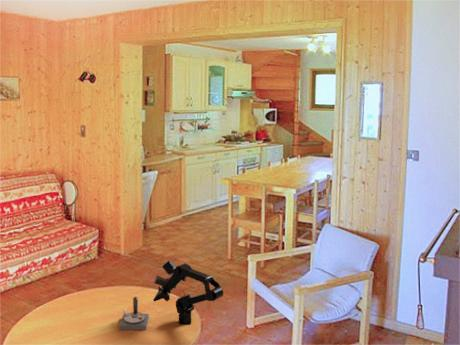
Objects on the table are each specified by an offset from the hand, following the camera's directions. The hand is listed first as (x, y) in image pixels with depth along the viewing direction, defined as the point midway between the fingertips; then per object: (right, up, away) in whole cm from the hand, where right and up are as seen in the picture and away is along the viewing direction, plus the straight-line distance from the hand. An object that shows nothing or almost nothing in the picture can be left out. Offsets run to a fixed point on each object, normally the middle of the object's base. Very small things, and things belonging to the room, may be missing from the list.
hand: (153, 300), depth 280 cm
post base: (-10, -12, -4) cm, 16 cm away
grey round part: (-10, -9, -4) cm, 14 cm away
